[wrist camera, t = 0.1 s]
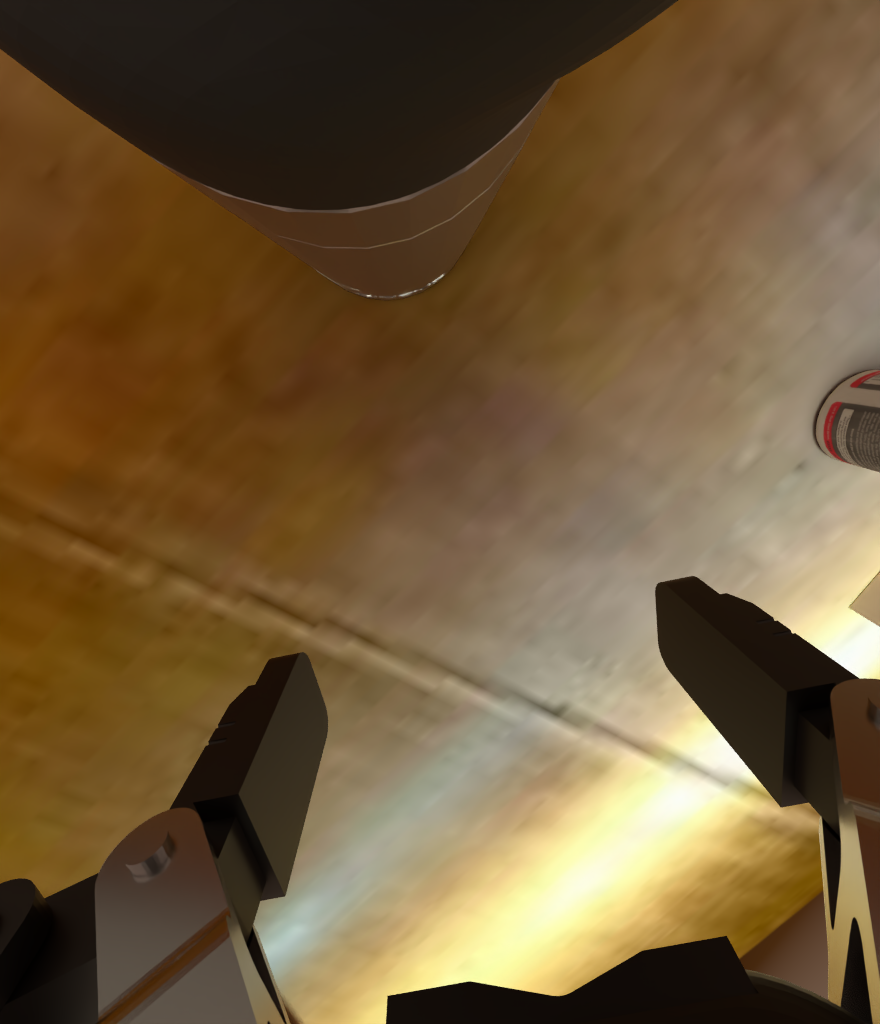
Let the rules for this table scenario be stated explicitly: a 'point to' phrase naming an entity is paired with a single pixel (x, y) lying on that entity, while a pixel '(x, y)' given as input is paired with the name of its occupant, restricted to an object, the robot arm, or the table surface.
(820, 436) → the pill bottle
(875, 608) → the door edge sill
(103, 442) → the table surface
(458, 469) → the table surface
